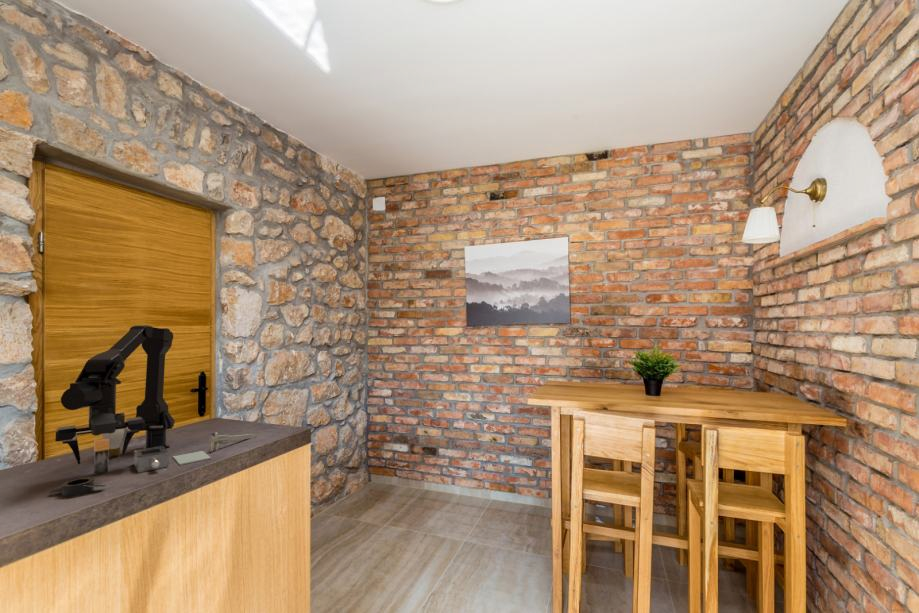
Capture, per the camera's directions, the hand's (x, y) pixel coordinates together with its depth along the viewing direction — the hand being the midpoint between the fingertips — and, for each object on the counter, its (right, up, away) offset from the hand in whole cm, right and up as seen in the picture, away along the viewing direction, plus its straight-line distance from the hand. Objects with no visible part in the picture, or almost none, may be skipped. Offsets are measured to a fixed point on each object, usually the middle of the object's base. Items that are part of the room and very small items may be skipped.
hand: (101, 459), depth 117 cm
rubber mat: (+17, -4, +12) cm, 22 cm away
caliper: (+22, -5, +27) cm, 36 cm away
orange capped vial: (0, -4, 0) cm, 4 cm away
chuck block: (+11, -4, +4) cm, 12 cm away
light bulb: (-9, -5, +15) cm, 18 cm away
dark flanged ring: (+6, -4, -14) cm, 16 cm away
